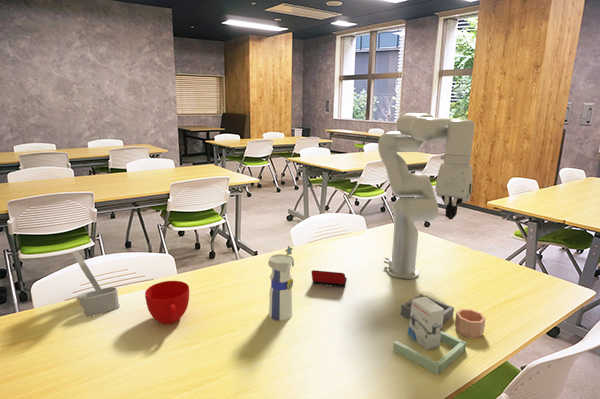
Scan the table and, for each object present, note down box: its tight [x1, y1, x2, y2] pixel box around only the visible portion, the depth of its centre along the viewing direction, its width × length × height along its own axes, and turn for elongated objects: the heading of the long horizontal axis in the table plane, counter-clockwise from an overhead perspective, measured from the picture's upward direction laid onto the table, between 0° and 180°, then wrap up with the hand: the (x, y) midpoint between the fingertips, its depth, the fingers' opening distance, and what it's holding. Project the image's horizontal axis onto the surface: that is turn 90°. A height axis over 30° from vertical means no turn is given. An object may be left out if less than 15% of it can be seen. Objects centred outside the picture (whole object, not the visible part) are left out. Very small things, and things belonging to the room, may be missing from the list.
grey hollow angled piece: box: [71, 249, 121, 317], centre depth 128 cm, size 17×10×18 cm, turn 38°
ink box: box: [407, 296, 444, 351], centre depth 111 cm, size 9×5×12 cm, turn 24°
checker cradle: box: [400, 293, 455, 325], centre depth 125 cm, size 12×12×4 cm
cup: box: [454, 308, 486, 339], centre depth 117 cm, size 8×8×5 cm
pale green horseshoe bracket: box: [392, 331, 467, 376], centre depth 108 cm, size 13×15×2 cm
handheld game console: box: [311, 269, 347, 288], centre depth 147 cm, size 12×11×7 cm
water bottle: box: [267, 245, 295, 321], centre depth 122 cm, size 8×9×25 cm
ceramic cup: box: [144, 280, 190, 325], centre depth 119 cm, size 13×17×10 cm
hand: (450, 216), depth 124 cm, fingers closed
